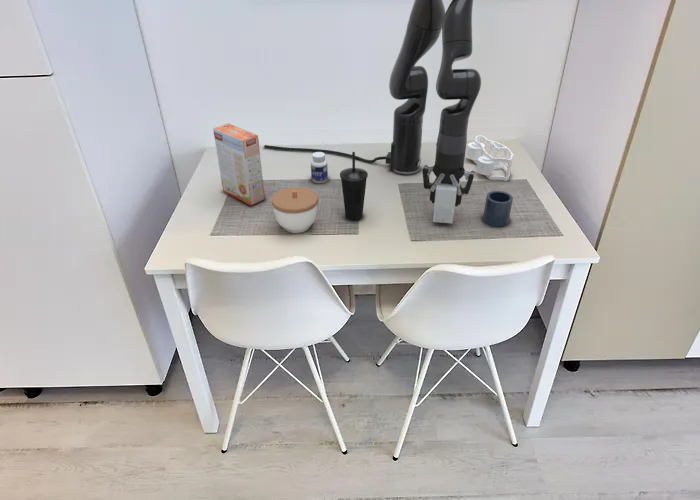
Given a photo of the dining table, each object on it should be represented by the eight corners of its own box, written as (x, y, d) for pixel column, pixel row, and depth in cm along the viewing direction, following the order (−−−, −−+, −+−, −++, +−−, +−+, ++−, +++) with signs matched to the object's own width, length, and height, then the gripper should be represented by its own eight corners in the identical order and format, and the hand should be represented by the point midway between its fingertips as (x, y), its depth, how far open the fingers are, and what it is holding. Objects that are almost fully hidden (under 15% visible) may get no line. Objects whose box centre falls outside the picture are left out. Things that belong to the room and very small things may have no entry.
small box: (452, 224, 147) (457, 190, 140) (432, 222, 148) (435, 188, 141) (454, 209, 153) (458, 176, 147) (434, 207, 154) (437, 175, 148)
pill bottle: (308, 181, 171) (307, 156, 165) (315, 174, 174) (314, 149, 169) (323, 184, 169) (322, 159, 164) (330, 177, 173) (329, 152, 168)
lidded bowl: (301, 243, 142) (299, 207, 136) (265, 230, 147) (260, 195, 141) (328, 221, 151) (327, 187, 144) (292, 210, 156) (289, 176, 150)
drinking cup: (371, 213, 154) (372, 149, 143) (360, 226, 149) (360, 160, 137) (347, 207, 157) (346, 144, 145) (336, 220, 151) (334, 155, 140)
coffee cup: (481, 224, 149) (485, 201, 144) (484, 212, 154) (487, 189, 150) (507, 228, 147) (512, 204, 143) (509, 215, 152) (513, 192, 148)
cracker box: (266, 199, 162) (259, 134, 150) (250, 207, 158) (241, 140, 146) (238, 184, 169) (228, 121, 157) (222, 191, 166) (211, 127, 154)
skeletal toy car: (462, 155, 185) (464, 135, 181) (493, 153, 186) (496, 134, 182) (480, 182, 169) (483, 161, 165) (514, 180, 170) (518, 159, 166)
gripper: (480, 144, 139) (472, 200, 149) (426, 138, 143) (421, 193, 153) (477, 156, 133) (469, 214, 143) (421, 150, 137) (416, 206, 147)
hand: (444, 203), depth 148 cm, fingers closed on small box, 6 cm apart
